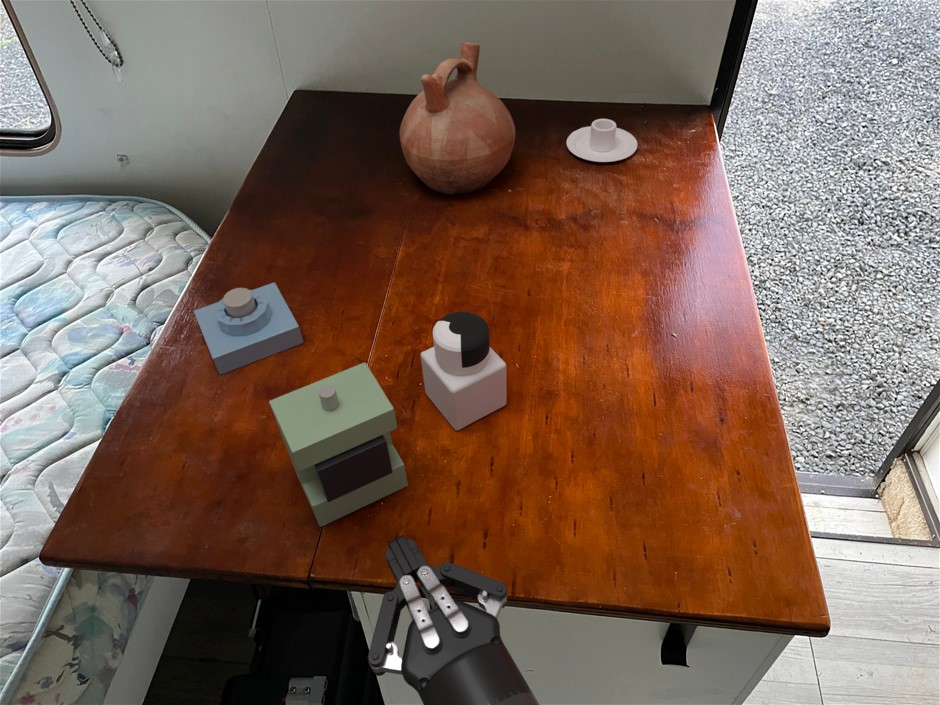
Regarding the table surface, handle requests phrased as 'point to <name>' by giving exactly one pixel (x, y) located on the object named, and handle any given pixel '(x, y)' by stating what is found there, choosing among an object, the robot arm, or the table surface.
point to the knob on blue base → (249, 330)
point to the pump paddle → (354, 468)
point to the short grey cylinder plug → (239, 302)
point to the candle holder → (602, 142)
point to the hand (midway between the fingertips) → (395, 543)
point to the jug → (457, 128)
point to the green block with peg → (338, 435)
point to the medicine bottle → (463, 370)
